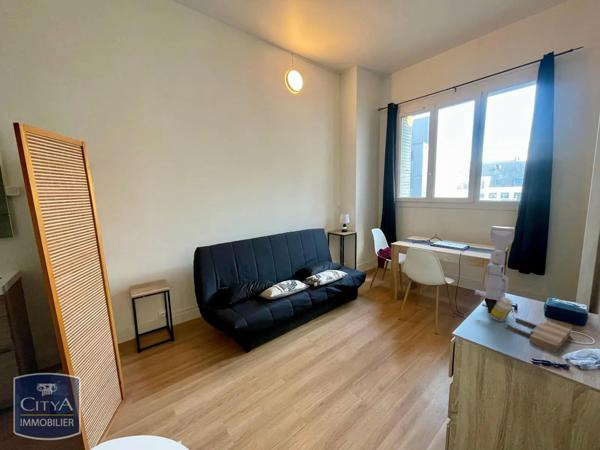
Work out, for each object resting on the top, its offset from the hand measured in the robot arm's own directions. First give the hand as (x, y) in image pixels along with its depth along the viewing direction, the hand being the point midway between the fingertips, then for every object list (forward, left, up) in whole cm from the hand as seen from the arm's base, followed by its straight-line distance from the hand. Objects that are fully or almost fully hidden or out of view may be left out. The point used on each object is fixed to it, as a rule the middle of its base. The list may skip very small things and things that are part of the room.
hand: (490, 312), depth 125 cm
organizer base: (0, +17, -2) cm, 18 cm away
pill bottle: (0, +3, -2) cm, 3 cm away
